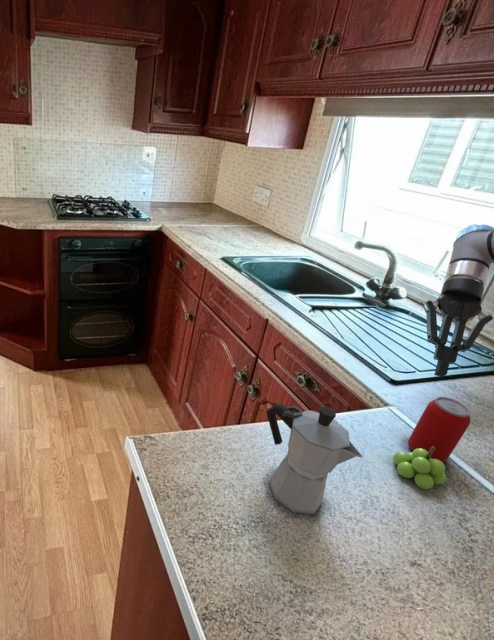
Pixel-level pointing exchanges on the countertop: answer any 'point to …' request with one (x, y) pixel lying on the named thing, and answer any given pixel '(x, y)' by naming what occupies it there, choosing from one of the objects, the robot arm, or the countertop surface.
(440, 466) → the grape bunch
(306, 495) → the coffee maker
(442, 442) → the beverage can
